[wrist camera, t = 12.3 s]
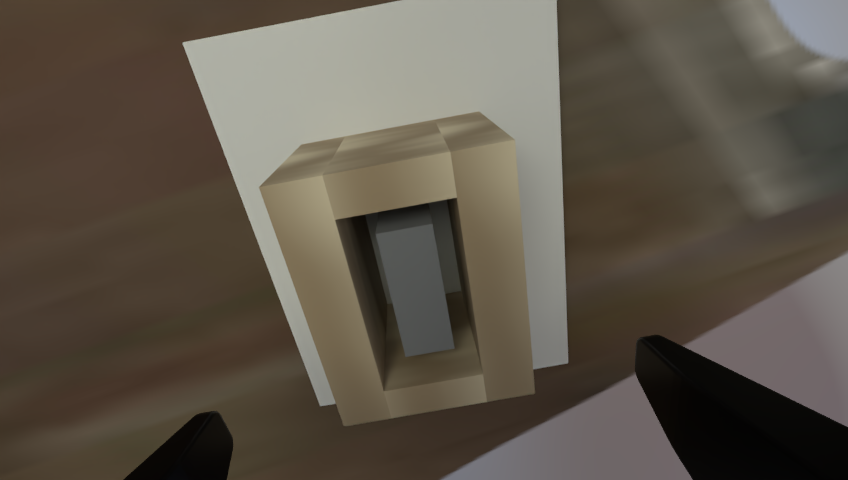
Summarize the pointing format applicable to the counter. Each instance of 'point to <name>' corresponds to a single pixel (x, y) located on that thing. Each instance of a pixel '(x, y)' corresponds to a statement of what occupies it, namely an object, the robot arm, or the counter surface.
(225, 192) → the counter surface
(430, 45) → the post stand
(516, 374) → the beige open box
